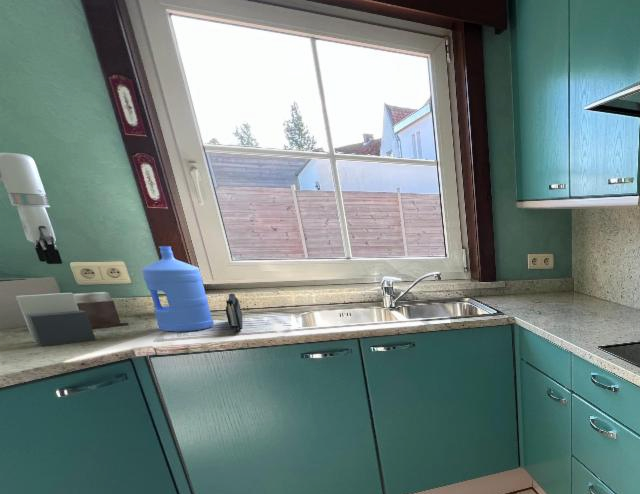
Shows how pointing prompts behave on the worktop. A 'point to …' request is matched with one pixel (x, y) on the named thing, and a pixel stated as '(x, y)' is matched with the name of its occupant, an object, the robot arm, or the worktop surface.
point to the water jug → (178, 294)
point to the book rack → (99, 309)
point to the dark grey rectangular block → (61, 327)
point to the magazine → (234, 313)
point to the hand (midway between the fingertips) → (51, 262)
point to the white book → (45, 305)
